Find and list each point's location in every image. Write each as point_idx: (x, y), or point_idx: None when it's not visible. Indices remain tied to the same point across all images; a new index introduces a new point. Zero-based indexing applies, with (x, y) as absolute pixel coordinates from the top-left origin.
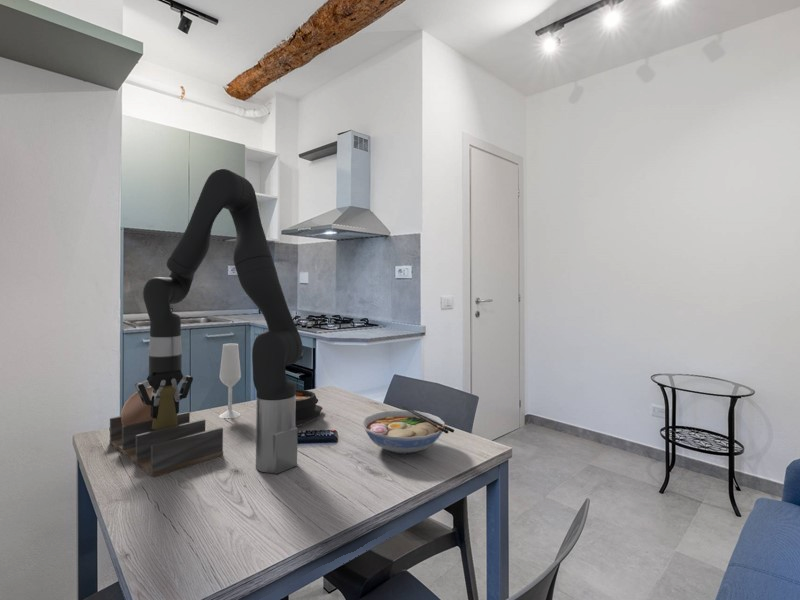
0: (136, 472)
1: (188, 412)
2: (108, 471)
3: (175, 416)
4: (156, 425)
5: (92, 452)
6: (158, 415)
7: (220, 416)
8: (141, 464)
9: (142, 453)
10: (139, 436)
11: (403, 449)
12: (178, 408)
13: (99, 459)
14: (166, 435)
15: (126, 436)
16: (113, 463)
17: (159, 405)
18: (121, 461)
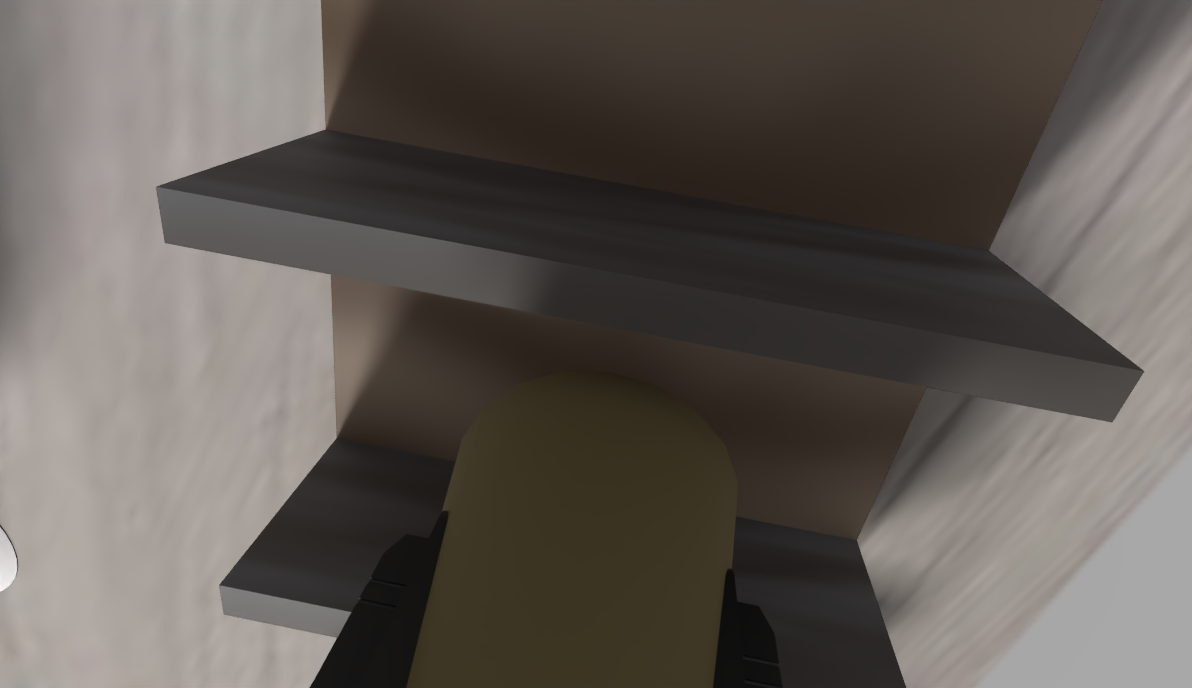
0: (1120, 66)
1: (228, 595)
2: (1170, 311)
3: (483, 481)
4: (728, 502)
5: (916, 682)
6: (713, 600)
7: (5, 564)
8: (1039, 130)
9: (963, 260)
10: (1102, 359)
11: None
12: (371, 591)
13: (993, 560)
14: (729, 262)
15: (859, 625)
16: (1017, 423)
17: None
18: (962, 408)
